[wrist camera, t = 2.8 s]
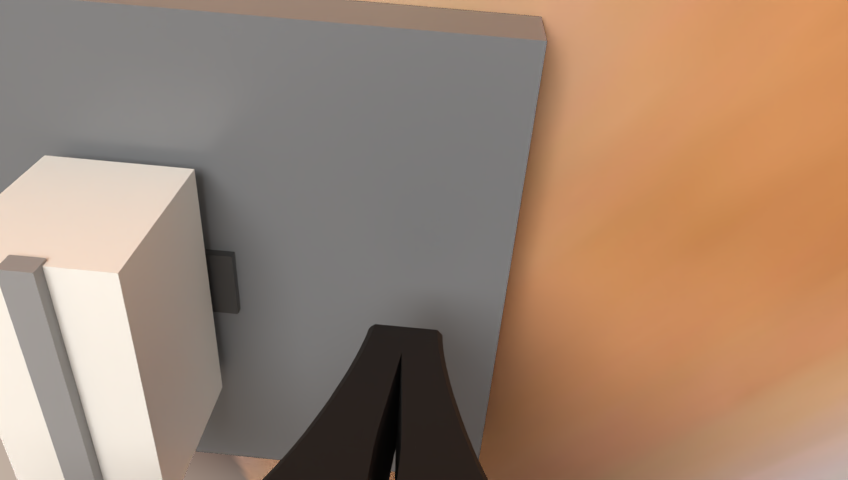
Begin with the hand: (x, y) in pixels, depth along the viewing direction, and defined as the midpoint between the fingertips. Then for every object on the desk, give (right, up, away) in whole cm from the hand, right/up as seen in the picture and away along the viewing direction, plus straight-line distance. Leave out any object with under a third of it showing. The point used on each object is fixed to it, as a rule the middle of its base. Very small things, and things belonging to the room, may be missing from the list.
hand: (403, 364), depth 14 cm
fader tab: (-6, +1, +2) cm, 6 cm away
